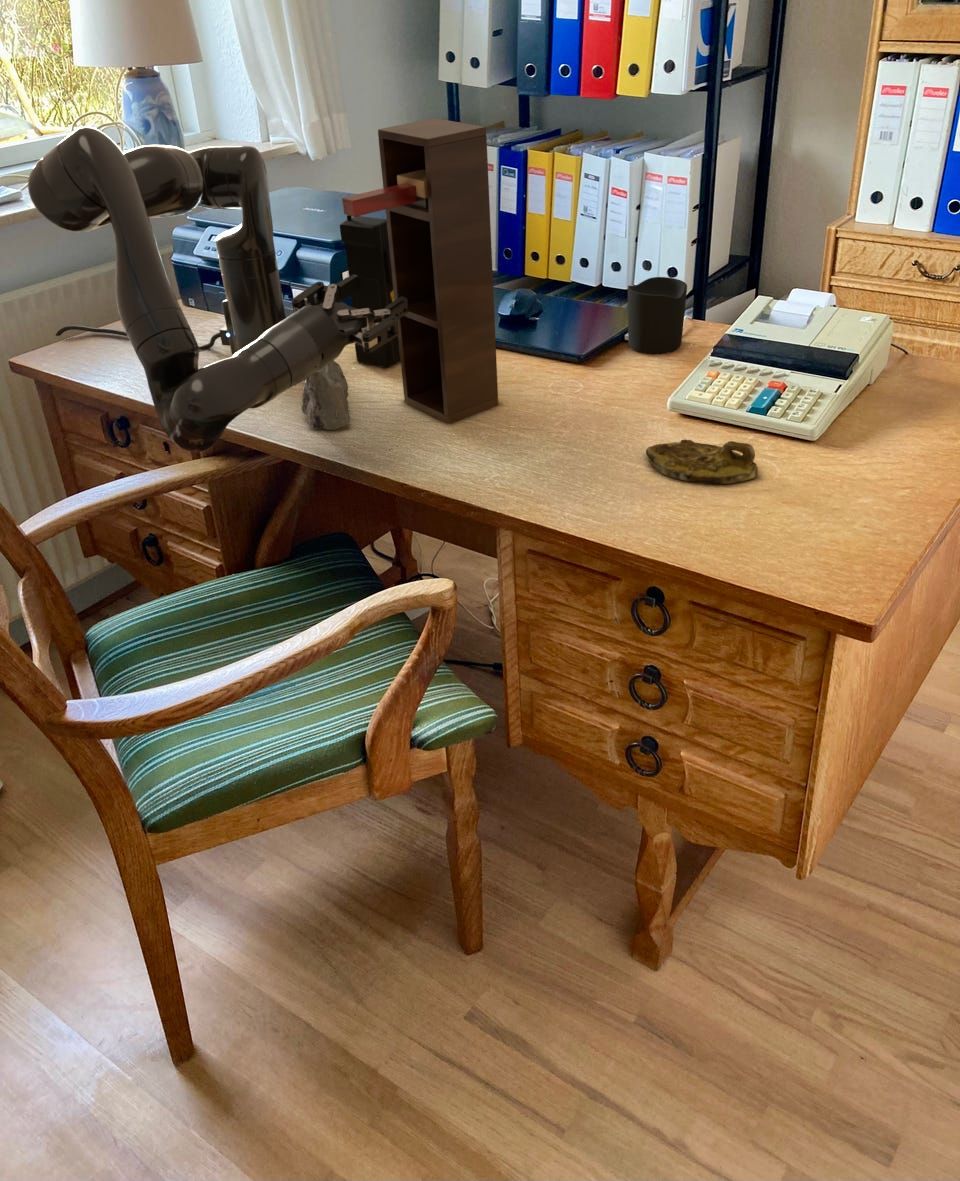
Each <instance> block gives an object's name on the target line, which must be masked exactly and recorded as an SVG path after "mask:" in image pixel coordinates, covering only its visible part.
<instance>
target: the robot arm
mask: <svg viewBox="0 0 960 1181" xmlns="http://www.w3.org/2000/svg"><path fill="white" fill-rule="evenodd" d="M27 181H28V182H27V190H28V195H29V198H30V200H31V202H32V204H33V206H34V207H35V209H36V210H37V212H39V214H40V215H41V216H42V217H43V218H44V219H46V220H47V221H49V223H51V224H52V225H54V226H56V227H58V228H59V229H62V230H65V231H68V232H72V233H81V234H83V233H88V232H91V231H94V230H97V229H100V228H103V227H105V226H108V225H111V226H112V230H113V236H114V245H115V298H116V306H117V312H118V315H119V319H120V323H121V325H122V327H123V329H124V330H119V329H114V328H102V327H90V326H84V325H77V324H75V325H74V324H73V325H71V324H70V325H65V326H62V327H61V328H59V329H58V330H57V331H56V333H55V336H56V337H60V336H62V334H64V333H65V332H67V331H75V330H76V331H83V332H89V333H90V332H91V333H99V334H113V335H118V336H119V335H120V336H124V337H127V338H128V340H129V343H130V344H131V346H132V348H133V350H134V352H135V355H136V356H137V358H138V360H139V362H140V364H141V366H142V367H143V370H144V373H145V377H146V381H147V386H148V389H149V393H150V396H151V400H152V403H153V406H154V410H155V413H156V415H157V419H158V421H159V424H160V425H161V427H162V429H163V432H164V433H165V435H166V436H167V437H168V439H169V440H170V441H171V442H172V443H174V444H175V445H176V446H177V447H178V448H180V449H182V450H184V451H187V452H191V453H200V452H201V453H202V452H205V451H207V450H209V449H211V448H212V447H213V446H214V445H215V444H216V443H217V442H218V441H219V440H220V439H221V437H222V435H223V433H225V430H226V428H227V427H228V426H229V424H230V423H231V422H233V420H235V419H236V418H237V417H238V416H240V415H241V414H242V413H244V412H245V411H247V410H249V409H258V408H261V407H263V406H265V405H267V404H268V403H270V402H271V401H273V400H274V399H276V398H277V397H279V396H280V395H282V394H283V393H285V392H286V391H288V390H289V389H290V388H293V387H294V386H297V385H299V384H301V383H302V382H304V381H306V379H307V378H308V377H310V376H311V375H313V374H314V373H316V372H317V371H319V370H320V369H321V368H323V367H324V366H326V365H327V364H329V363H330V362H332V361H333V360H334V361H335V360H336V359H338V357H340V355H341V354H342V352H343V350H344V349H345V347H346V346H348V345H352V344H355V343H356V342H357V343H359V344H360V345H362V346H363V348H364V352H365V353H371V352H373V351H375V350H376V349H378V348H379V347H381V346H383V345H384V344H386V343H387V342H389V341H390V340H392V339H394V338H395V337H397V336H398V335H399V330H398V320H399V319H400V318H401V317H403V316H404V315H406V314H407V312H408V300H407V298H406V297H403V296H401V297H399V298H398V299H396V300H395V301H393V302H392V303H390V304H389V305H387V306H386V307H385V309H380V310H372V309H371V308H364V309H356V308H353V306H350V305H348V304H347V303H346V302H343V301H344V300H346V299H348V298H349V297H350V296H351V295H352V294H354V293H355V292H357V291H358V290H359V289H360V279H359V276H357V275H354V274H353V275H352V276H350V277H349V276H346V277H345V278H343V279H341V280H340V281H338V282H337V283H330V284H328V285H325V283H324V282H323V281H319V280H318V281H316V282H314V283H313V284H311V285H310V286H309V287H307V288H306V289H304V290H303V291H301V292H300V293H299V294H297V295H296V296H294V297H293V298H292V299H291V300H290V302H291V309H292V314H290V315H288V316H287V315H286V310H285V304H284V297H283V291H282V284H281V278H280V272H279V266H278V260H277V254H276V247H275V242H274V223H273V222H274V220H273V217H272V216H273V214H272V208H271V207H272V206H271V199H270V188H269V179H268V172H267V167H266V164H265V160H264V158H263V155H262V153H261V152H260V151H259V150H258V149H257V148H256V147H255V146H250V145H222V146H221V145H220V146H218V145H217V146H214V145H213V146H207V147H201V148H198V149H195V150H191V151H187V150H185V149H183V148H180V147H178V146H174V145H167V144H166V145H165V144H149V145H141V146H138V147H135V148H131V149H128V150H126V151H124V152H123V150H122V149H121V148H120V146H119V145H117V143H116V142H115V141H114V140H112V138H111V137H109V136H108V135H107V134H105V133H104V132H102V131H100V129H97V128H95V127H91V126H82V127H79V128H77V129H75V130H74V131H72V132H71V133H70V134H69V135H67V136H66V137H64V139H62V140H61V141H60V142H59V143H58V144H56V145H55V146H54V147H53V148H52V149H51V150H50V151H48V152H47V153H46V154H45V155H44V156H43V157H42V158H40V159H39V160H38V161H37V162H36V164H35V165H34V166H33V168H32V170H31V171H30V172H29V175H28V179H27ZM196 207H199V208H204V209H212V210H223V211H224V210H241V217H242V220H241V223H239V224H238V225H236V226H234V227H231V228H229V229H227V230H224V231H221V233H219V234H218V235H217V236H216V237H215V248H216V253H217V254H216V255H217V258H218V263H219V268H220V273H221V278H222V283H223V289H224V293H225V294H224V295H225V299H224V300H223V301H222V303H221V306H222V312H223V314H224V315H223V316H224V321H225V326H223V327H222V328H220V329H218V331H219V332H216V333H215V334H213V335H212V336H211V337H210V340H209V342H208V343H206V344H203V345H199V344H198V341H197V339H196V336H195V335H194V332H193V330H192V328H191V326H190V325H189V322H188V320H187V318H186V316H185V313H184V312H183V310H182V308H181V305H180V303H179V301H178V300H177V297H176V295H175V292H174V290H173V287H172V286H171V282H170V281H169V278H168V276H167V273H166V270H165V266H164V264H163V260H162V256H161V254H160V250H159V246H158V243H157V239H156V236H155V233H154V229H153V226H152V222H151V220H150V219H154V218H155V219H156V218H158V219H159V218H167V217H168V218H169V217H177V216H183V215H185V214H188V213H190V212H191V211H193V210H194V209H196ZM351 297H352V296H351ZM362 317H366V318H367V326H366V327H365V328H361V327H362ZM376 318H382V322H380V323H374V319H376ZM387 330H388V332H387ZM219 338H220V341H221V345H222V346H228V347H230V352H231V353H230V354H231V355H230V357H226V358H223V359H220V360H217V361H214V362H213V363H210V364H208V365H205V366H203V367H201V368H199V359H200V351H203V350H209V349H211V348H213V347H214V346H215V343H216V340H217V339H219Z"/></svg>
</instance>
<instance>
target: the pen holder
mask: <svg viewBox="0 0 960 1181" xmlns="http://www.w3.org/2000/svg"><path fill="white" fill-rule="evenodd" d="M687 292H688V284H687V283H686V282H685V281H683V280H681V279H678V278H674V277H669V276H668V277H667V276H653V277H649V278H647V279H645V280H643V281H641V282H639V283H638V284H635V285H628V286H627V337H628V338H627V340H628V342H627V343H628V346H629V348H630V349H631V350H632V351H634V352H637V353H640V354H644V355H666V354H670V353H673V352H675V351H677V350H678V349H679V348H680V347H681V346H682V341H683V332H684V323H685V313H686V302H687Z"/></svg>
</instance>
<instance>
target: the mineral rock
mask: <svg viewBox="0 0 960 1181" xmlns="http://www.w3.org/2000/svg"><path fill="white" fill-rule="evenodd" d="M305 381H306V382H305V383H304V385H303V389H302V399H301V403H302V404H301V411H302V413H303V414H304V415H305V416H306V418H307V421H308V424H309V425H310V426H311V427H312V428H313V429H314V430H315V429H316V430H319V429H325V430H330V431H331V430H336V429H338V428H341V427H345V426H347V425H348V424H349V423H350V421H351V414H350V409H349V400H348V397H349V384H348V382H347V378H346V376H345V374H344V372H343V369H342V367H341V365H340V364H339V363H338V362H336V361H335V360H333V361H332V362H330V363H329V364H327V365H326V366H324V367H323V368H321V369H320V370H319V371H317V372H316V373H314V374H313V375H311V376H310V377H308V378H307V379H305Z"/></svg>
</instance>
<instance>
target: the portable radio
mask: <svg viewBox="0 0 960 1181" xmlns="http://www.w3.org/2000/svg"><path fill="white" fill-rule="evenodd" d="M339 232H340V240H341V242H343V243H344V246H345V247H344V248H345V254H346V262H347V271H348V277H350V276H352V275H353V274H354V275H357V276H359V279H360V289H359V290H358V291H357V292H355V293H354V294H352V295H351V302H352V303H351V304H352V307H353V308H356V309H364V308H371V309H372V310H380V309H385V307H386V306H387V305H389V304H390V303H392V302H393V301H394V291H393V281H392V270H391V260H390V250H389V240H388V230H387V220H386V218H379V217H370V216H364V215H361V216H357V217H352V216H349V215H346V220H343V221H342V222H341V223H340V224H339ZM380 322H382V318H376V319H374V323H380ZM366 326H367V318H366V317H362V327H361V328H365V327H366ZM387 332H388V330H387ZM354 349H355V356H356V361H357V363H360V364H364V365H370V366H374V367H375V366H376V367H380V368H389V367H391V366H393V365H395V364H397V363H399V362H401V361H400V351H399V341H398V336H397V337H395V338H394V339H392V340H390V341H389V342H387V343H386V344H384V345H383V346H381V347H379V348H378V349H376V350H375V351H373V352H371V353H365V352H364V348H363V346H362V345H360V344H359V343H357V342H355V343H354Z"/></svg>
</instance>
